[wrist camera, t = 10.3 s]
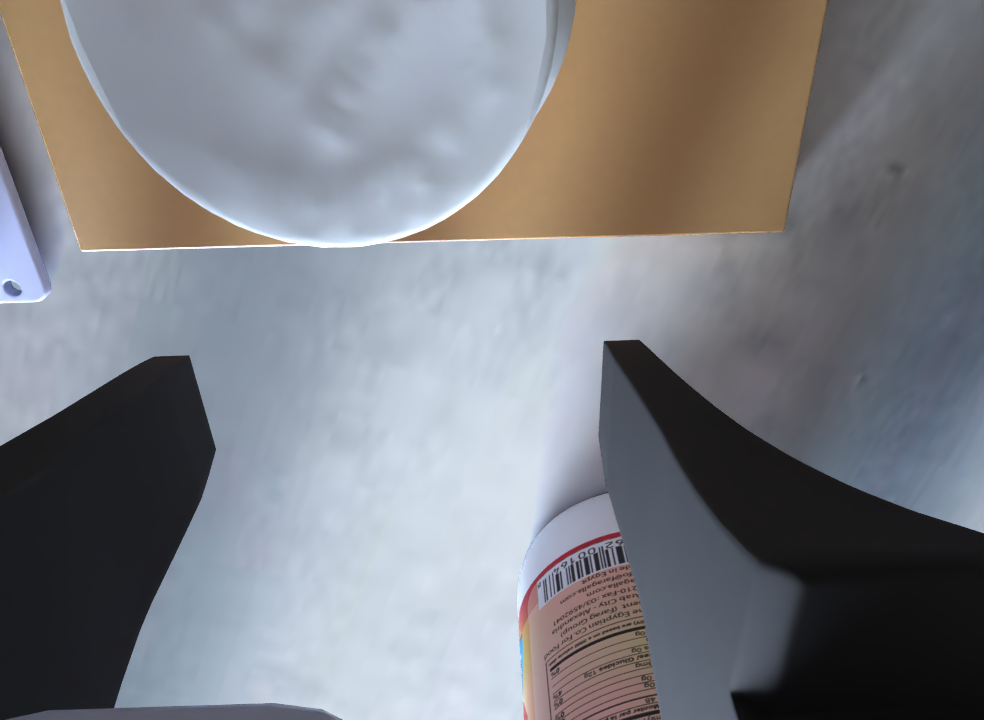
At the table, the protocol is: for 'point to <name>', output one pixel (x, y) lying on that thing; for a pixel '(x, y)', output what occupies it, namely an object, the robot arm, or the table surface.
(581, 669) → the fruit juice
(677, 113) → the oak board
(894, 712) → the robot arm
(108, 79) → the pill bottle
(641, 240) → the table surface
